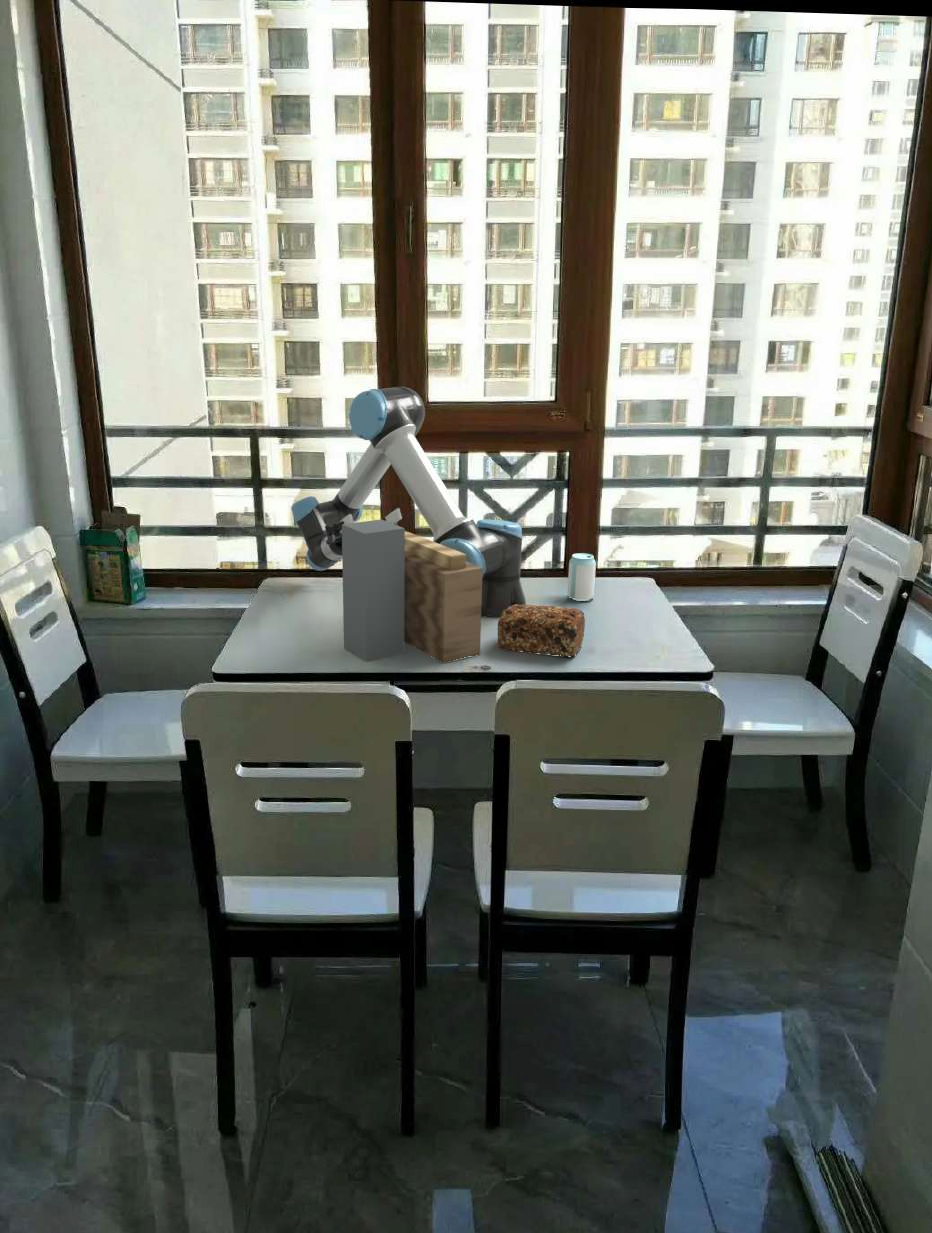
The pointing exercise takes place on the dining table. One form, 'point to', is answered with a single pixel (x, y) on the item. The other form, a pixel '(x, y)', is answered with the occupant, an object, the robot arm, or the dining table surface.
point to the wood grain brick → (442, 608)
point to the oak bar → (434, 552)
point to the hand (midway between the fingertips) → (376, 516)
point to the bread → (541, 629)
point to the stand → (373, 588)
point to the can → (581, 576)
